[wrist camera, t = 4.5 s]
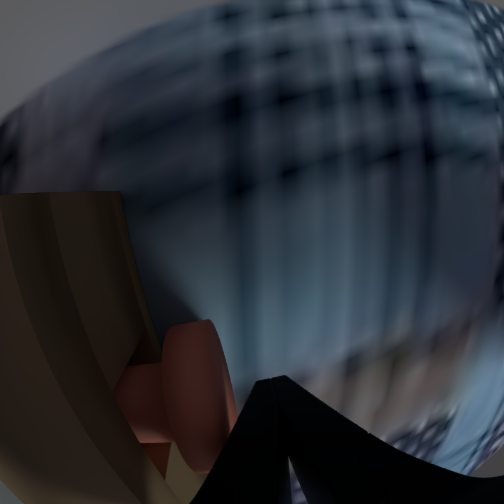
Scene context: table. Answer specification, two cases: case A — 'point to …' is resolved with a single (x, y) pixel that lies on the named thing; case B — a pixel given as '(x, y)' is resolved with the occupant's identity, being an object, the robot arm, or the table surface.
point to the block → (76, 357)
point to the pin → (182, 395)
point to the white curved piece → (7, 495)
